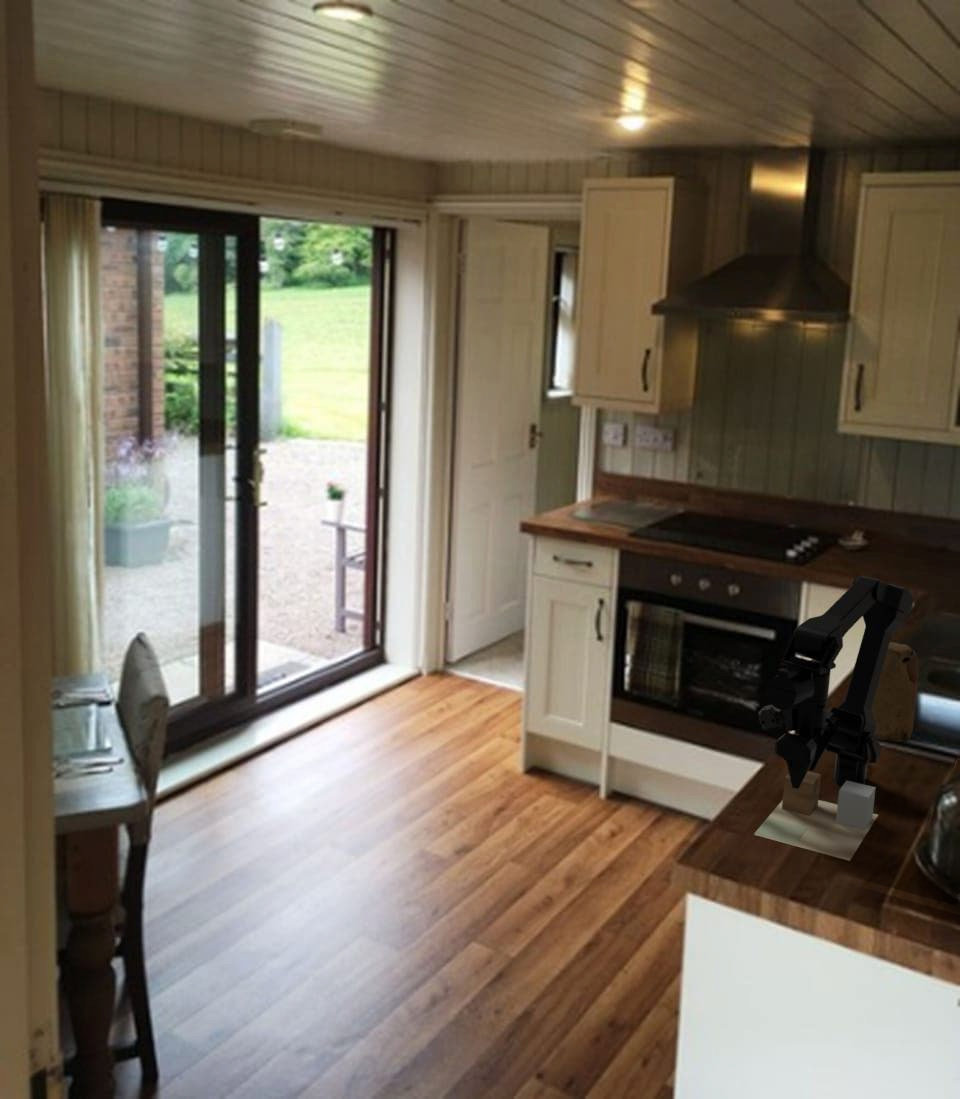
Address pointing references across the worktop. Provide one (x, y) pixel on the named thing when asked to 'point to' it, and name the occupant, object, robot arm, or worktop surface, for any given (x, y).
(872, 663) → the robot arm
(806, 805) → the walnut block
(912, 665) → the block
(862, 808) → the grey block
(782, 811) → the board
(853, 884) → the worktop surface
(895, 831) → the worktop surface
